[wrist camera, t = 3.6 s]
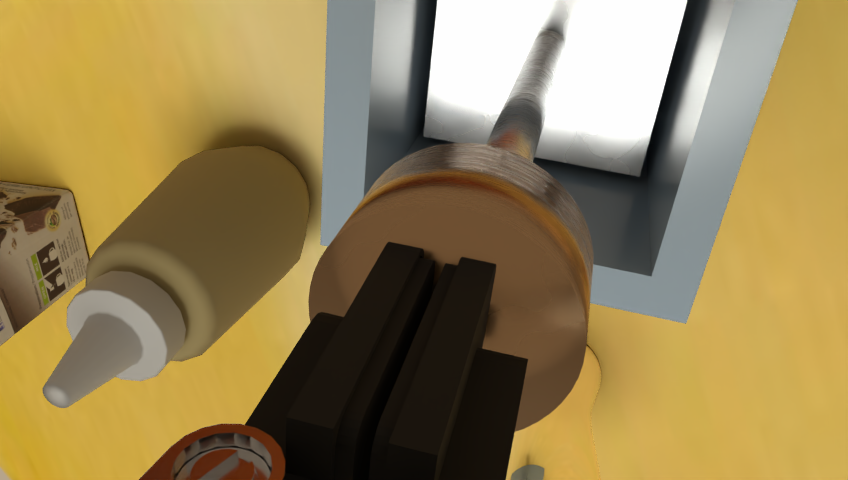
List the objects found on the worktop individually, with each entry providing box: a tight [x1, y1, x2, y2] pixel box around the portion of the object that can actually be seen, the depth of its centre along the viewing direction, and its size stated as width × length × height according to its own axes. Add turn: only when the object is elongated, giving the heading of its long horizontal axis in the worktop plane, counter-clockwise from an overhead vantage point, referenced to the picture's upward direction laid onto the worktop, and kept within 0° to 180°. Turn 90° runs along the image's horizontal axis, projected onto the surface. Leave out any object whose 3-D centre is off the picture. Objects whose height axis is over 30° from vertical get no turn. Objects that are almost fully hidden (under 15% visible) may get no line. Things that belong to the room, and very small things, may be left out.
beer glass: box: [506, 345, 601, 480], centre depth 37 cm, size 7×7×15 cm
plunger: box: [309, 0, 687, 432], centre depth 19 cm, size 8×8×18 cm
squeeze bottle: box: [43, 146, 310, 408], centre depth 35 cm, size 8×8×18 cm
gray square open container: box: [320, 0, 798, 323], centre depth 28 cm, size 12×15×15 cm
